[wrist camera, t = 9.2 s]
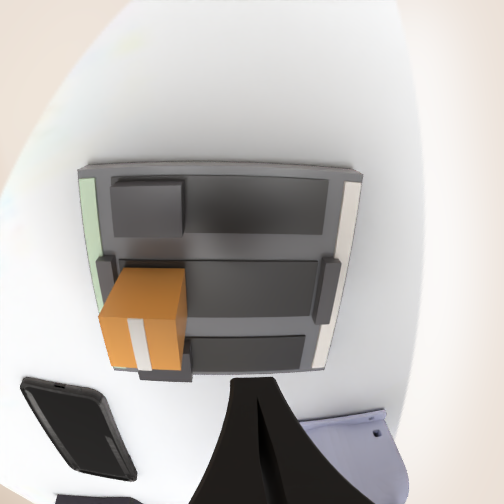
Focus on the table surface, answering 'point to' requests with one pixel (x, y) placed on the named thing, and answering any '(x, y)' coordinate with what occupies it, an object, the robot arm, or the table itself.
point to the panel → (230, 254)
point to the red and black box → (94, 500)
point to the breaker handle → (146, 319)
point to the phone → (80, 428)
